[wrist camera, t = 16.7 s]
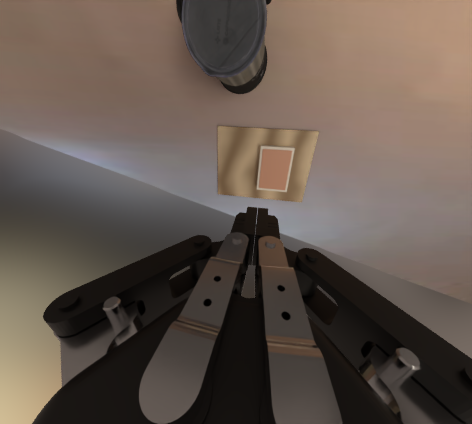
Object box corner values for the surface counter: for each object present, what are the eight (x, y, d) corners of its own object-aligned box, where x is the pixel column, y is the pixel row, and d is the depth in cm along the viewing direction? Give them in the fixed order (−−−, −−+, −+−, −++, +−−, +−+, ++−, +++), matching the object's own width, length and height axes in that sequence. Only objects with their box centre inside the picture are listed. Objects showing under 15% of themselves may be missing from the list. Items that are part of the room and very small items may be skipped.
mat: (318, 131, 34) (318, 131, 33) (301, 201, 41) (301, 202, 40) (218, 126, 36) (217, 126, 35) (218, 193, 43) (218, 194, 42)
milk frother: (260, 99, 33) (256, 83, 20) (181, 85, 34) (128, 61, 21) (281, -12, 26) (296, -146, 13) (181, -25, 27) (103, -162, 14)
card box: (261, 144, 36) (293, 146, 35) (257, 186, 40) (285, 188, 39) (260, 146, 34) (295, 148, 33) (256, 189, 38) (286, 192, 37)
